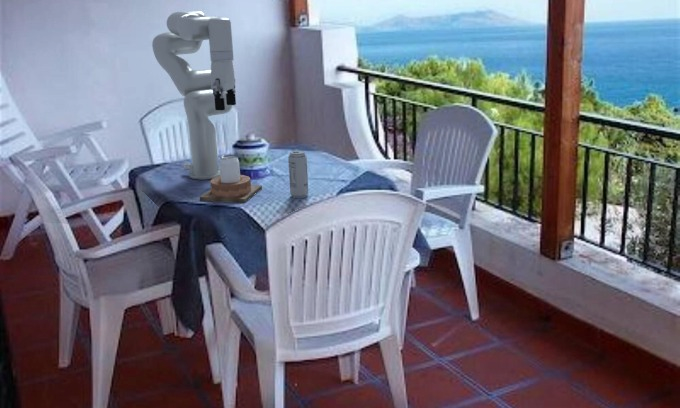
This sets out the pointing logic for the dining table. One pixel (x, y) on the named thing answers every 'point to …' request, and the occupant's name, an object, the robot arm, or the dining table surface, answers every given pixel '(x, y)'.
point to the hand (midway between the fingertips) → (225, 107)
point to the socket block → (231, 190)
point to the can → (229, 169)
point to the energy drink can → (298, 174)
